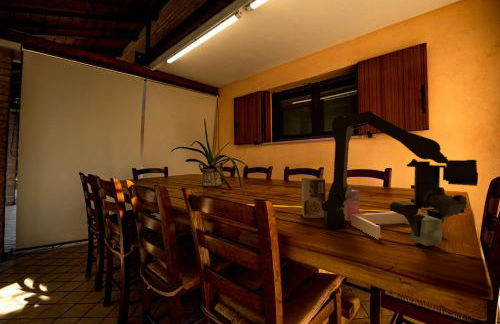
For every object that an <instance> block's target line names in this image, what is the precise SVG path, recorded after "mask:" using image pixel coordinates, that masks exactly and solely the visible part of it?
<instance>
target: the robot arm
mask: <svg viewBox="0 0 500 324" xmlns="http://www.w3.org/2000/svg"><path fill="white" fill-rule="evenodd" d="M368 125H369V126H370V127H373V128H374V129H376V130H378V131H380V132H381V133H383V134H385V135H387V136H388V137H391V138H392V139H394V140H396V141H397V142H399V143H401V144H402V145H403V146H404V147H405V148H406V149H408V150H409V151H410V152H411V153H412V154H413V155H415V156H416V157H418V159H421V160H423V161H420V160H418V159H416V158H412V160H410V162H408V163H407V164H406V167H407V168H414V177H413V178H414V183H413V184H411V185H410V189H412V190H414V191H413V192H414V193H413V198H410V202H408V201H403V200H400V201H399V200H397V201H394V200H393V201H392V202H391V203H390V204H389V211H390V212H396V213H398V214H401V215H404V216H405V218H406V219H407V221H408V223H409V224H410V225H409V226H410V229H411V228H412V230H413V232H414V234H415V236H416V237H420V232H421V220H422V219H423V218H424V217H425V216H423V215H424V214H422V211H426V215H428V216H431V217H434V218H437V219H441V220H442V224H444V222H445V220H446V219H448V218H450V217H453V216H454V215H455V216H459V214H464V213H465V210H466V209H467V204H468V203H467V197H466V196H464V195H462V194H455V195H448V194H446V193H445V192H446V191H445V188H444V187H441V186H440V185H441V184H440V183H441V181H440V180H441V179H440V178H441V174H440V173H441V169H443V170H442V180H443V181H445V182H448V183H447V184H448V185H452V186H453V185H454V186H471V187H472V186H473V187H477V186H478V183H479V182H478V181H479V172H478V167H477V166H478V163H477V161H478V160H477V159H466V160H465V159H464V160H463V159H459V160H458V159H451V160H450V159H448V156H446V155H444V154H443V152H441V149H442V148H441V144H440V143H438V141H436V140H434V139H431V138H429V137H426V136H422V135H419V134H415V133H414V132H410V131H408V130H406V129H405V128H402V127H400V126H398V125H397V124H394V123H393V122H391V121H389V120H387V119H386V118H383V117H382V116H379V115H377V114H376V113H375V112H373V111H371V110H367V111H364V112H361V113H356V114H350V115H338V116H336V117H334V118H333V119H332V121H331V130H332V131H331V133H332V136H333V139H334V141H335V142H334V143H335V146H334V161H333V162H334V163H333V179H332V180H333V181H332V184H331V186H330V188H329V191H328V195H327V200H326V199H325V202H324V203H323V204H322V205H321V206H322V209H323V211H324V218H323V221H322V222H321V224H322V225H323V226H325V227H326V228H327V229H329V230H330V229H346V228H347V226H346V225H345V223H346V220H345V214H344V210H343V209H342V208H344V206H345V204H347V203H348V202H349V201H350V199H351V198H352V195H351V192H352V190H353V187H352V186H349V184H348V162H349V149H350V148H349V147H350V146H349V145H350V141H351V139H352V137H353V133H354V130H355V129H358V128H362V127H366V126H368ZM425 160H426V161H425ZM428 160H431V161H433V162H435V163H437V164H431V162H430V161H428ZM441 164H443V165H441ZM444 164H445V165H444Z"/></svg>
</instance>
